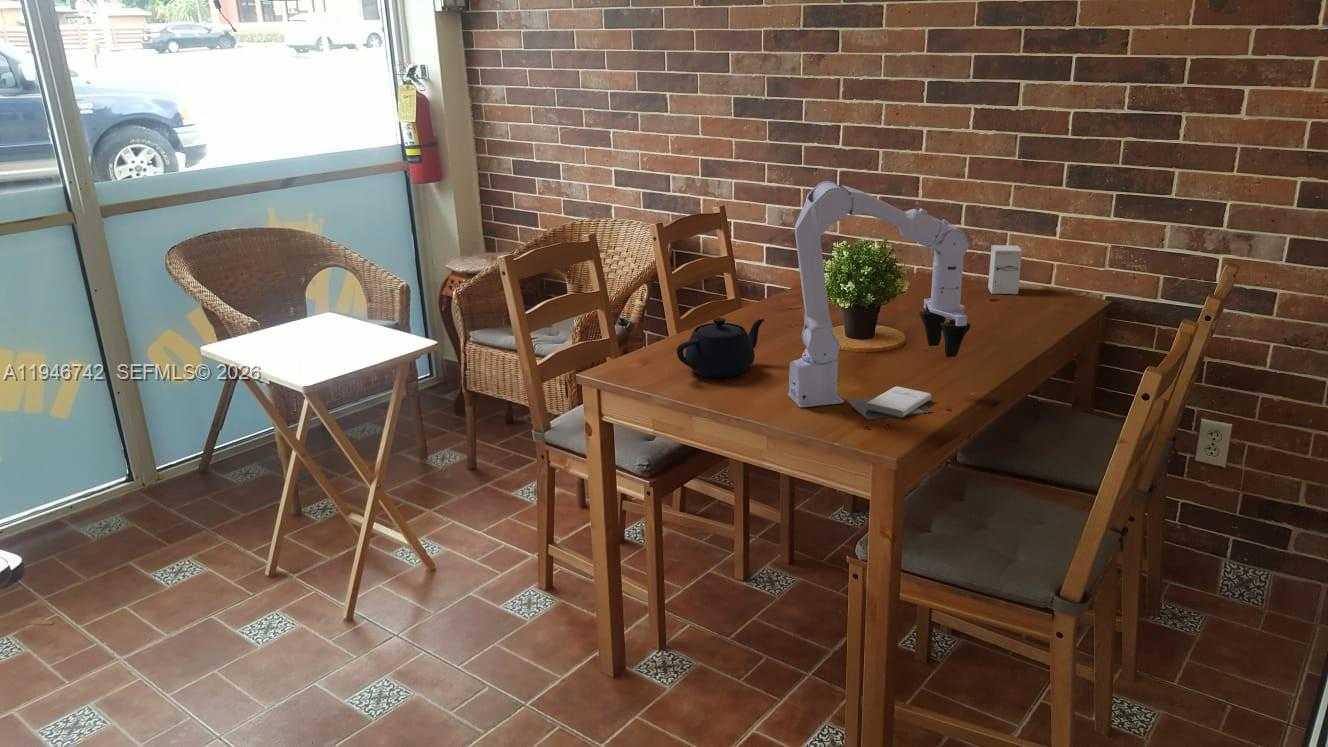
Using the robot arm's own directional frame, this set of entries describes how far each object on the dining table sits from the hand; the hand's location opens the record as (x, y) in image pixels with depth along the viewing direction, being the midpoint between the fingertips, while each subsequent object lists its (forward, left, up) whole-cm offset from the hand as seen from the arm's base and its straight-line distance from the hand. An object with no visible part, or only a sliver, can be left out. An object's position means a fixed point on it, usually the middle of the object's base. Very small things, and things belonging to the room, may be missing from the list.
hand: (942, 350), depth 209 cm
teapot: (-39, +29, -10) cm, 49 cm away
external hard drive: (-11, -3, -10) cm, 15 cm away
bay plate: (-13, -3, -10) cm, 16 cm away
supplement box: (+55, +73, -10) cm, 92 cm away
